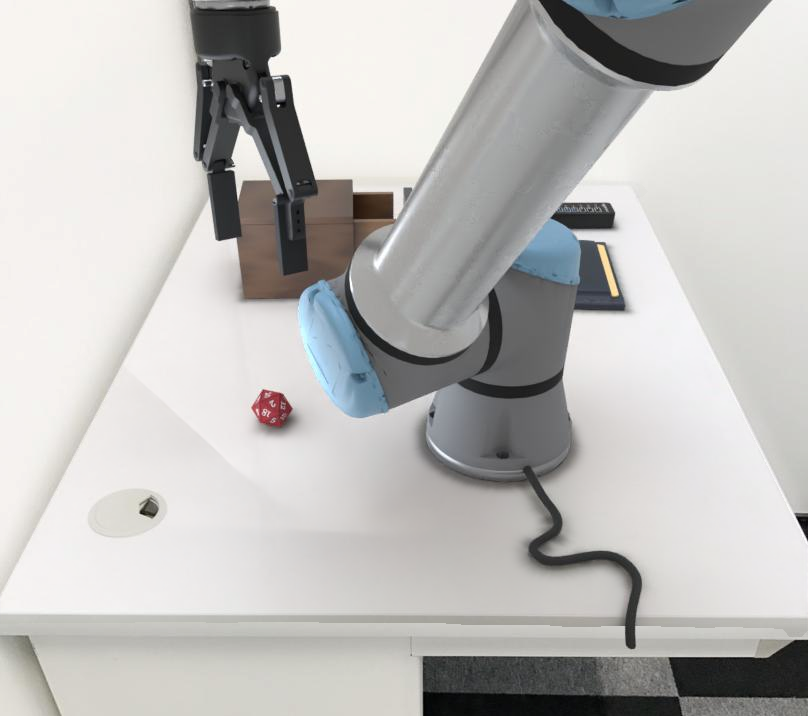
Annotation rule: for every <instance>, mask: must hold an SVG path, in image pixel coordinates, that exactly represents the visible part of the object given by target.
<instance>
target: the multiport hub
mask: <svg viewBox="0 0 808 716" xmlns="http://www.w3.org/2000/svg"><path fill="white" fill-rule="evenodd" d="M615 218H616V211H615V209H614V208H613V206H612V203H610V202H563V203H562V204H561V206H560V207H559V208H558V209H557V210H556V212H555V213H554V214H553V215H552V217H551V218H550V219H553V220H555V221H557V222H559V223H561V224H563V225H564V226H566V227H567V228H569V229H613V228H614V224H615Z"/></svg>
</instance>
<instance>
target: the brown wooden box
mask: <svg viewBox="0 0 808 716" xmlns="http://www.w3.org/2000/svg"><path fill="white" fill-rule="evenodd" d="M315 180H316V184H317V187H318V195H317V196H315V197H311V198H308V199H307V200H305V202H304V213H305V227H306V245H307V259H308V271H304V272H299V273H295V274H291V275H286V276H282V275H281V274H280V273H279V262H278V251H277V240H276V229H275V218H274V207H273V204H272V201H273V199H274V197H275V195H276V192H275V190H274V188H273V185H272V183H271V180H270V179H267V180H266V179H262V180H261V179H260V180H259V179H257V180H256V179H253V180H250V179H249V180H248V179H247V180H242V183H241V186H240V187H241V188H240V190H239V196H238V206H239V215H240V224H241V233H242V237H238V238H235V239H236V247H237V254H238V262H239V269H240V277H241V284H242V292H243V299H244V300H246V299H247V300H251V299H253V300H254V299H255V300H256V299H300V297H301V295H302V293H303V292H304V291H305V289H307V288H308V287H310V286H312V285H314V284H316V283H318V281H320V280H325V281H329V280H332V279H335V278H337V277H339V276H341V275H342V274H344V273H345V271H346V269H347V267H348V265H349V263H350V261H351V260H352V258H353V256H354V227H353V192H354V184H353V183H354V182H353V181H354V180H353V179H350V178H347V179H346V178H345V179H344V178H343V179H342V178H341V179H315Z"/></svg>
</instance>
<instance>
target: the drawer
mask: <svg viewBox="0 0 808 716" xmlns="http://www.w3.org/2000/svg"><path fill="white" fill-rule="evenodd" d="M412 190H413V187H412V186H411V187H408V186H407V187H405V186H404V187H403V190H402V192H403V193H402V200H403V201H402V203H403V204H402V207H403V206H404V205H405V203H406V201H407V199H408V197H409V195H410V194H411V192H412ZM394 194H395V193H394V191H353V227H354V254H355V252H356V250H357V248H358V247H359V245H360V244H361V243H362V242H363V240H364V239H365V238H366V237H368V236H369V235H370V234H371V233H373V232H374V231H376V230H377V229H380V228H382V227H384V226H387V225H391V224H394V223H395V221H396V219H397V218H394V217H395V216H394V215H395V213H394V212H395V211H394V210H395V209H394V205H395V203H394V200H395V199H394Z"/></svg>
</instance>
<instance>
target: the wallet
mask: <svg viewBox="0 0 808 716" xmlns="http://www.w3.org/2000/svg"><path fill="white" fill-rule="evenodd" d="M578 241H579V243H580V249H581V256H580V266H579V276H580V282H579V284H578V288H577V294H576V300H575V306H574V310H575V309H576V310H577V309H580V310H611V311H612V310H616V311H617V310H618V311H624V310H626V303H625V298H624V295H623V293H622V291H621V288H620V287H621V286H620V285H619V281H618V278H617V275H616V271H615V268H614V265H613V261H612V259H611V256H610V252H609V250H608V246H607V243H606V241H595V240H591V239H590V240H588V239H578Z"/></svg>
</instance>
